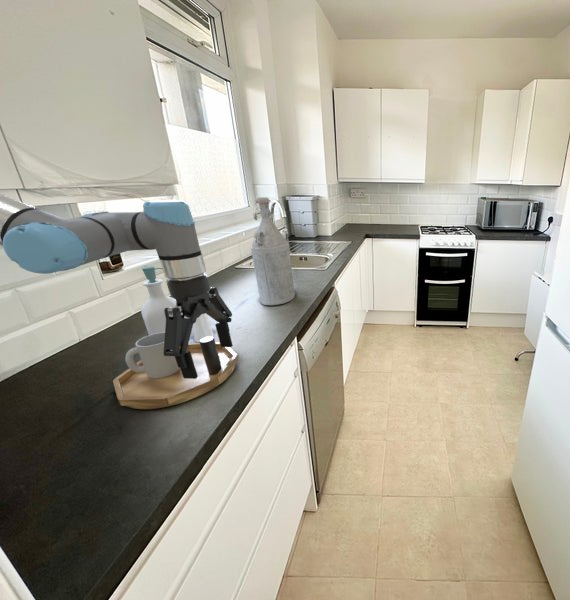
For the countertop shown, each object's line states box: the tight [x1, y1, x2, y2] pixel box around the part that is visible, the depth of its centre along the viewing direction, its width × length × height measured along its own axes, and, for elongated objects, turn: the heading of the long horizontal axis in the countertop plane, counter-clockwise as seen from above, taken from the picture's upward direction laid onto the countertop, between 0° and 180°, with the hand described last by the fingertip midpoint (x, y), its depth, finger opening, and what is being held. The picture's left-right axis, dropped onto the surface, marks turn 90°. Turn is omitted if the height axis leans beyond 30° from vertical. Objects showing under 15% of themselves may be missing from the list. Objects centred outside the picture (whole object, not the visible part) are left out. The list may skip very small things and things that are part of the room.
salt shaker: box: [192, 313, 215, 343], centre depth 94 cm, size 5×5×11 cm
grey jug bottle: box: [249, 196, 296, 306], centre depth 119 cm, size 13×17×40 cm
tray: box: [112, 336, 239, 410], centre depth 75 cm, size 24×24×10 cm
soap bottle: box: [140, 265, 186, 335], centre depth 93 cm, size 10×10×23 cm
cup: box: [124, 332, 181, 379], centre depth 75 cm, size 7×10×9 cm
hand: (210, 360), depth 75 cm, fingers open, 13 cm apart
